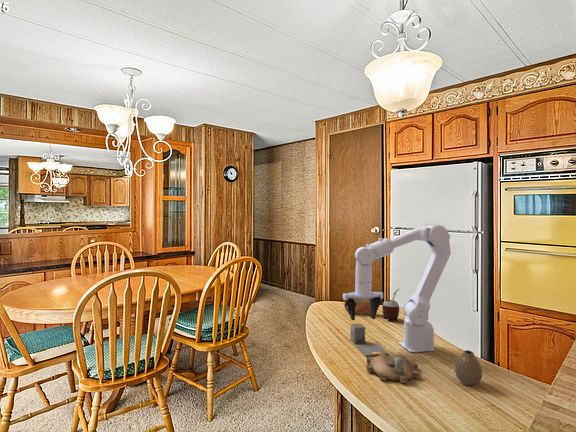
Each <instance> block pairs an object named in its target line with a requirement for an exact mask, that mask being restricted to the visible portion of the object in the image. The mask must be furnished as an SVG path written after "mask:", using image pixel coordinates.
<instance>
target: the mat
mask: <svg viewBox="0 0 576 432" xmlns="http://www.w3.org/2000/svg"><path fill="white" fill-rule="evenodd" d="M356 348H357V349H358V350H359V351H360V352H361V353H362V355H364V356H365V358H368V357H376V356H379V354H385V355H389V352H388V351H387V350H386V349H385V348H384V347H382V346H381V345H380V344H379V343H367V344H366V343H365V344H356ZM389 356H390V355H389Z"/></svg>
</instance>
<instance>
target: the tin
mask: <svg viewBox="0 0 576 432" xmlns="http://www.w3.org/2000/svg"><path fill="white" fill-rule="evenodd" d="M354 301H355V302H356V307H355V314H360V315H361V316H370V309H371V307H370V299H354ZM343 307H344V309H345V311H346V312H347V313H348V314H350V312H349V309H348V306H347V304H346V302H345V301H344V306H343ZM360 315H359V316H360Z"/></svg>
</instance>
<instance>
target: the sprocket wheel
mask: <svg viewBox="0 0 576 432" xmlns="http://www.w3.org/2000/svg"><path fill="white" fill-rule="evenodd" d="M404 357H405V356H402V355H396V356H395V355H385V354H379V356H369V357H366V363H367V364H366V371H367V373H373V374H375V375H376V376H378V377H379V378H378V379H379V380H381V381H385V382H386V381H387V380H389V381H390V380H391V381H399V383H401V384H407V383H408V381H409V380H411V379H413V378H414V379H417V380H418V379H419V378H420V375H421V372H420V370H419V364H418V363H416V362H415V361H414V362H413V361H409V360H408V359H405V358H404ZM418 370H419V371H418Z"/></svg>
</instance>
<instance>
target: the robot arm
mask: <svg viewBox="0 0 576 432" xmlns="http://www.w3.org/2000/svg"><path fill="white" fill-rule="evenodd" d="M450 239H451V235H450V233H449V231H448V230H447V228H446V227H445V226H443V225H440V224H433V223H427V224H424V225H421V226H417V227H415V228H413V229H411V230H409V231H407V232H404V233H402V234H399V235H398V236H396V237H393V238H391V239H390V238H386V237H384V238H383V237H380V238H378V241H375V242H373V243H370V244H369V243H366V244H365V246H361V247H358V248H356V251H354V252H355V253H354V258H355V261H356V263H355V278H354V279H355V281H354V282H355V283H354V286H355V287H354V291H353V292H346V293H343V294H342V299H343V300H344V303H345V302H346V304H347V306H348V309H349V312H350V313H349V315H350V320H351V321H355V319H356V315H355V307H356V302H355V301H354V299H370V307H371V309H370V315H369V316H370V319H371V320H375V319H376V315H377V313H378V310H379V307H380V306H381V305H382V304H383V303H382V302H383V300H382V299H384V292H381V291H372V289H373V288H372V286H373V281H372V280H373V267H372V265H373V262H374V261H375V260H376V261H377V260H378V259H381V258H383V257H386V256H389V255H391V254H393V251H394V250H395V249H396V248H398V247H401V246H404V245H406V244H410V243H413V242H415V241H420V242H421V241H423V242H426V243H427V244H428V246H429V247H430V250H431V251H432V254H431V256H430V259H429V260H428V263H427V265H426V268H425V269H424V272H423V275H422V276H421V279H420V281H419V283H418V285H417V288H416V290H415V291H414V293H413V294H412V295H410V298H409V299H408V300H407V301H406V302H404V304H403V307H402V311H403V314H404V315H405V318H404V322H403V324H404V325H403V341H399V342H398V344H399V345H400V346H401V347H403V348H404V349H405V350H407V351H408V352H409V353H422V352H423V353H424V352H434V351H435V350H436V349H435V348H434V340H435V331H434V327H433V325H432V323H431V322H429V321H428V320H429V312H430V310H431V309H430V308H431V302H430V301H431V299H432V295H433V294H434V292H435V290H436V287H437V285H438V284H439V280H440V279H441V276H442V275H443V271H444V269H445V267H446V265H447V263H448V261H449V259H450V256H451V254H452V253H451V243H450V242H451V241H450Z"/></svg>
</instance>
